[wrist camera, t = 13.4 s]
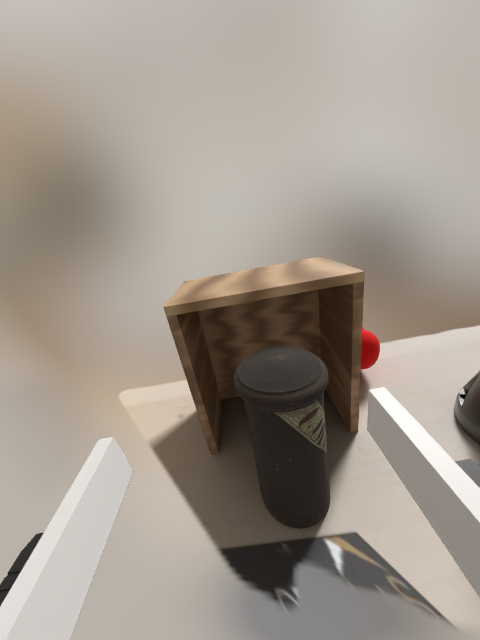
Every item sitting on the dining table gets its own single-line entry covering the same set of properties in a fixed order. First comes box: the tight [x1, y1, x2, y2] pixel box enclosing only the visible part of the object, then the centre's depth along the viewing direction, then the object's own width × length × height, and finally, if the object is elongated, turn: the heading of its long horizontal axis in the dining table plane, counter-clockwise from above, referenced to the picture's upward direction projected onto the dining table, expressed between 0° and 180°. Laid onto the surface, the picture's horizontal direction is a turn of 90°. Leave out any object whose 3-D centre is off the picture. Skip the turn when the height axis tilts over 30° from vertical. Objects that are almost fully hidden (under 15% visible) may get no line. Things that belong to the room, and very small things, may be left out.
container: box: [233, 346, 330, 528], centre depth 26 cm, size 9×9×20 cm
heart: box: [361, 327, 380, 369], centre depth 47 cm, size 12×5×10 cm, turn 1°
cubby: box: [164, 257, 364, 454], centre depth 37 cm, size 23×13×25 cm, turn 92°
